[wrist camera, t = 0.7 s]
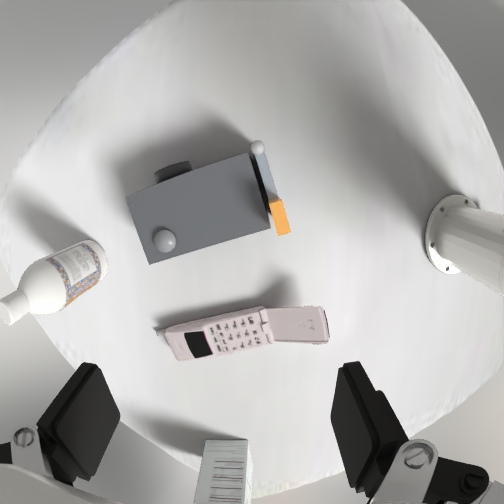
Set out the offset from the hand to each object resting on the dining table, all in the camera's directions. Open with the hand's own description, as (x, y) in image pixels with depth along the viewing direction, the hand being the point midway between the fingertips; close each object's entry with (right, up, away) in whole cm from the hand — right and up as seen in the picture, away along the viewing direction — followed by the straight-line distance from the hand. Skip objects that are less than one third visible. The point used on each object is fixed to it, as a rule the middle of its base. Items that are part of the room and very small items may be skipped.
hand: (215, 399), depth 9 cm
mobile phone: (-1, -5, +31) cm, 32 cm away
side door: (+3, +14, +26) cm, 30 cm away
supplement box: (-3, -38, +40) cm, 55 cm away
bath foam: (-24, +4, +30) cm, 38 cm away
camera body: (-4, +12, +27) cm, 29 cm away
